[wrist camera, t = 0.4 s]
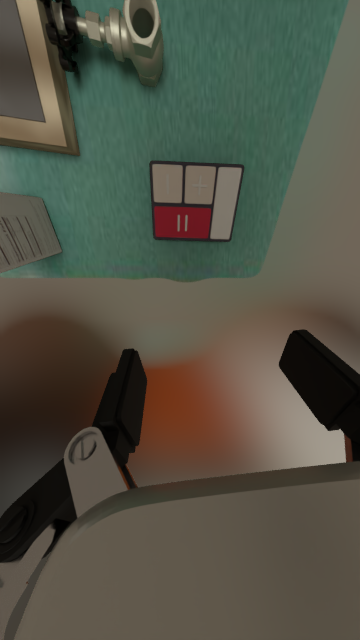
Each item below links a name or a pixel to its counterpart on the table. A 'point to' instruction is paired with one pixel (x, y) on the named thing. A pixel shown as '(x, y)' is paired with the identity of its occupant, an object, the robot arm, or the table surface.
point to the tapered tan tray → (32, 83)
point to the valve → (110, 34)
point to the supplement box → (24, 231)
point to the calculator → (194, 200)
